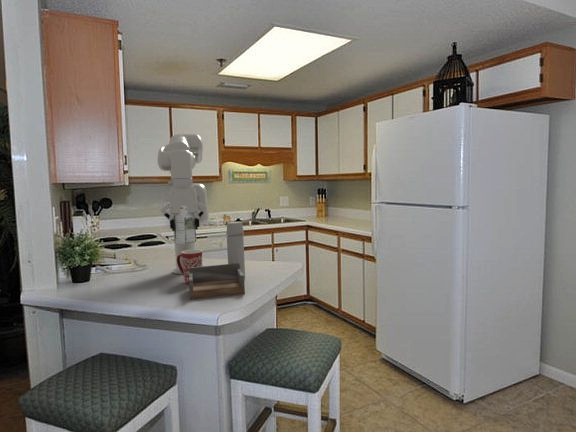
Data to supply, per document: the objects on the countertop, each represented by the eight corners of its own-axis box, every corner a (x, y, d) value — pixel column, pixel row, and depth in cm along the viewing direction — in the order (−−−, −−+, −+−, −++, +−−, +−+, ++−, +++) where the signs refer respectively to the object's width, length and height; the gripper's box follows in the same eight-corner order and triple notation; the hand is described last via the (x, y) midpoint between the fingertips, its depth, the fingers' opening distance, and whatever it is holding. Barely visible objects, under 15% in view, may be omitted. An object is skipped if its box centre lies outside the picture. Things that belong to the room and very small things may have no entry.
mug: (208, 280, 170) (207, 249, 169) (194, 285, 162) (192, 253, 161) (186, 278, 176) (185, 248, 175) (172, 283, 168) (170, 252, 167)
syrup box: (186, 241, 153) (183, 204, 152) (197, 242, 150) (194, 204, 149) (174, 243, 148) (172, 205, 147) (185, 244, 145) (183, 205, 144)
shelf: (190, 289, 157) (189, 267, 156) (240, 284, 161) (239, 263, 160) (190, 299, 143) (188, 275, 142) (244, 293, 148) (243, 270, 147)
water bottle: (243, 282, 165) (240, 223, 162) (225, 282, 166) (222, 223, 164) (249, 277, 174) (247, 220, 171) (232, 276, 175) (230, 221, 173)
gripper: (156, 184, 142) (160, 232, 143) (206, 182, 145) (208, 229, 147) (159, 184, 149) (162, 230, 151) (206, 182, 152) (208, 227, 154)
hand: (185, 229), depth 149 cm, fingers closed on syrup box, 8 cm apart
